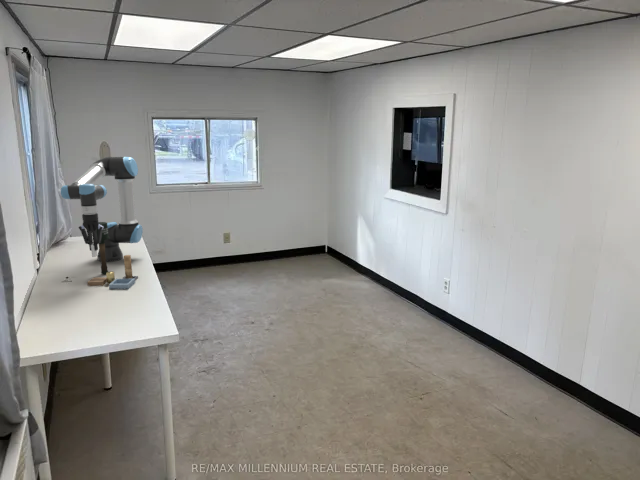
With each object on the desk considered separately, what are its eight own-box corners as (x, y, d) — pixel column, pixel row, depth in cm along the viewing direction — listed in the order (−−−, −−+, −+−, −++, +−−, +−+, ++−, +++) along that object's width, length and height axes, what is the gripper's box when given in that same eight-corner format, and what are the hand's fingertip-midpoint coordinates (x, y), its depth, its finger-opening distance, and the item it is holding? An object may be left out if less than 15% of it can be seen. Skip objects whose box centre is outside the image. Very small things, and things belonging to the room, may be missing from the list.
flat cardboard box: (94, 281, 263) (93, 277, 263) (108, 281, 263) (108, 277, 263) (87, 286, 255) (87, 282, 255) (103, 286, 256) (102, 281, 255)
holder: (125, 278, 268) (125, 276, 268) (138, 278, 268) (137, 276, 268) (120, 282, 261) (120, 280, 261) (133, 282, 261) (133, 280, 261)
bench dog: (109, 281, 262) (107, 271, 260) (116, 281, 262) (115, 271, 260) (106, 284, 258) (104, 273, 256) (113, 284, 258) (112, 273, 256)
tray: (116, 282, 260) (116, 278, 259) (135, 282, 260) (134, 278, 259) (109, 289, 250) (108, 284, 249) (128, 289, 250) (128, 284, 250)
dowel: (127, 279, 266) (125, 254, 263) (133, 279, 267) (131, 254, 263) (124, 281, 263) (122, 256, 260) (131, 281, 263) (129, 256, 260)
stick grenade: (106, 276, 270) (101, 225, 263) (93, 275, 272) (87, 224, 265) (116, 272, 278) (111, 222, 271) (102, 271, 280) (97, 221, 273)
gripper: (73, 214, 249) (79, 258, 254) (98, 214, 248) (103, 258, 254) (81, 212, 256) (86, 254, 262) (105, 212, 256) (109, 254, 261)
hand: (94, 256), depth 258 cm, fingers closed
